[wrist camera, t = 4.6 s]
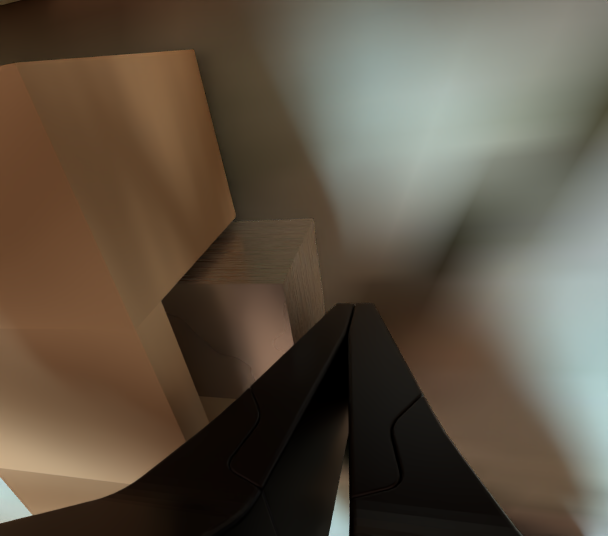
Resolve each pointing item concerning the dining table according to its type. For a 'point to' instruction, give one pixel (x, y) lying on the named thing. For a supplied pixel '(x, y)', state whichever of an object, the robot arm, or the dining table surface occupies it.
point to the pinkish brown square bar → (246, 303)
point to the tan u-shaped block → (100, 267)
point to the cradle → (7, 1)
